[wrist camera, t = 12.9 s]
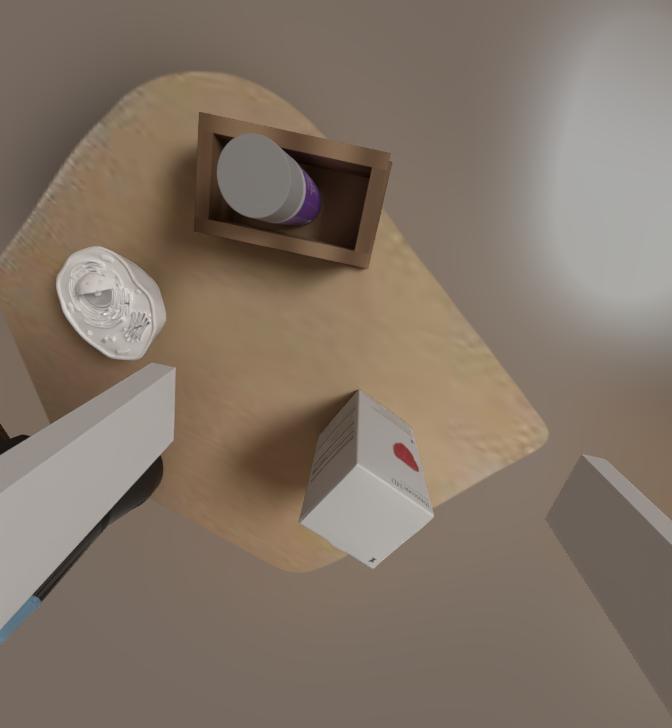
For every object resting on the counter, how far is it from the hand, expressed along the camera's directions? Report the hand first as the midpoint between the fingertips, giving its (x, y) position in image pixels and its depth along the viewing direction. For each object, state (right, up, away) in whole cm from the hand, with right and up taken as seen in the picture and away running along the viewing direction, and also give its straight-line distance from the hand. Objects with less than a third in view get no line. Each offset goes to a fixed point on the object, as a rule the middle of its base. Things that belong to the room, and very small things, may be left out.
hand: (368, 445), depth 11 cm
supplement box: (+3, -6, +33) cm, 34 cm away
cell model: (-25, +10, +29) cm, 39 cm away
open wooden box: (-5, +19, +24) cm, 31 cm away
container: (-5, +19, +23) cm, 30 cm away
